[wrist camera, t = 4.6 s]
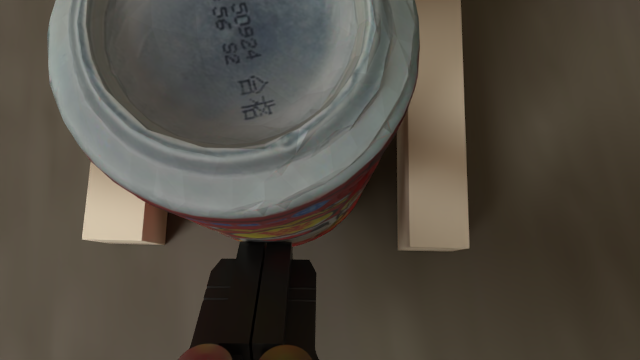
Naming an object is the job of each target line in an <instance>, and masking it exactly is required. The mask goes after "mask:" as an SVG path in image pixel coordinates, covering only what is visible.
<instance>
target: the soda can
mask: <svg viewBox="0 0 640 360" xmlns="http://www.w3.org/2000/svg"><path fill="white" fill-rule="evenodd" d="M419 52H420V35H419V16H418V12H417V7H416V2H415V0H56V2H55V5H54V8H53V11H52V14H51V18H50V22H49V28H48V60H49V62H48V64H49V83H50V86H51V89H52V92H53V95H54V98H55V100H56V103H57V105H58V108H59V111H60V113H61V116H62V118H63V121H64V123H65V124H66V126H67V127H68V129H69V130H70V132H71V134H72V135H73V137H74V138H75V140H76V141H77V143H78V145H79V146H80V147H81V149H82V150H83V151H84V153H85V154H86V155H87V157H88V158H89V159H90V161H91V162H92V163H93V164H94V165H95V166H96V167H98V168H99V169H100V170H101V171H102V172H103V173H104V174H105V175H106V176H108V177H109V178H110V179H111V180H112V181H113V182H114V183H116V184H117V185H119V186H121V187H122V188H124V189H125V190H127V191H128V192H130V193H132V194H133V195H135V196H136V197H138V198H139V199H141V200H142V201H144V202H146V203H148V204H150V205H152V206H154V207H157V208H159V209H162V210H164V211H167V212H169V213H172V214H175V215H178V216H180V217H183V218H185V219H188V220H190V221H192V222H195V223H197V224H199V225H202V226H204V227H207V228H209V229H212V230H214V231H217V232H219V233H221V234H223V235H226V236H228V237H231V238H233V239H235V240H238V241H254V242H266V245H267V242H292V246H297V245H301V244H304V243H307V242H309V241H312V240H315V239H317V238H318V237H320V236H322V235H324V234H326V233H328V232H329V231H331V230H332V229H333V228H334V227H335V226H336V225H337V224H339V223H340V222H341V221H342V220H344V219H345V217H346V216H347V215H348V214H349V213H350V212H351V210H352V209H353V208H354V206H355V205H356V203H357V201H358V199H359V198H360V196H361V193H362V191H363V189H364V188H365V186H366V184H367V183H368V181H369V179H370V178H371V176H372V174H373V172H374V170H375V169H376V167H377V165H378V163H379V161H380V158H381V156H382V155H383V153H384V152H385V150H386V149H387V147H388V146H389V144H390V143H391V141H392V140H393V138H394V137H395V135H396V133H397V131H398V129H399V127H400V125H401V123H402V121H403V119H404V117H405V115H406V112H407V110H408V107H409V104H410V101H411V99H412V96H413V93H414V90H415V87H416V83H417V78H418V68H419Z"/></svg>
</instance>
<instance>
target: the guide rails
mask: <svg viewBox="0 0 640 360" xmlns="http://www.w3.org/2000/svg"><path fill="white" fill-rule="evenodd" d="M415 2H416V7H417V12H418V16H419V35H420V52H419V68H418V78H417V83H416V87H415V90H414V93H413V96H412V99H411V101H410V104H409V107H408V110H407V112H406V115H405V117H404V119H403V121H402V123H401V125H400V127H399V129H398V131H397V214H398V250H406V251H456V250H462V249H468V248H469V220H468V191H467V163H466V135H465V107H464V79H463V51H462V23H461V0H415ZM167 214H168V212H167V211H164V210H162V209H159V208H157V207H154V206H152V205H150V204H148V203H146V202H144V201H142V200H141V199H139V198H138V197H136V196H135V195H133V194H132V193H130V192H128V191H127V190H125V189H124V188H122V187H121V186H119V185H117V184H116V183H114V182H113V181H112V180H111V179H110V178H109V177H108V176H106V175H105V174H104V173H103V172H102V171H101V170H100V169H99V168H98V167H96V166H95V165H94V164H93V163H92V162H91V165H90V174H89V183H88V191H87V200H86V209H85V217H84V226H83V235H82V239H83V240H90V241H97V242H105V243H112V244H147V245H165V238H166V226H167Z"/></svg>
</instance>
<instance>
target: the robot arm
mask: <svg viewBox="0 0 640 360" xmlns="http://www.w3.org/2000/svg"><path fill="white" fill-rule="evenodd" d="M315 319H316V272H315V270H314V268H313V266H312V264H311V262H310V260H293V253H292V242H267V245H266V242H254V241H241V242H240V244H239V249H238V253H237V258H236V259H221V260H220V261H219V263H218V264H217V265H216V266H215V267H214V268H213V270H212V271H211V273H210V277H209V281H208V284H207V289H206V292H205V295H204V301H203V303H202V306H201V310H200V314H199V317H198V321H197V324H196V328H195V332H194V335H193V339H192V343H191V346H190V348H189V350H187V351H186V352H185V353H184V354H183V355H182V356H181V357H180V358H179V359H178V360H319V359H318V357H317V355H316V351H315Z"/></svg>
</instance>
